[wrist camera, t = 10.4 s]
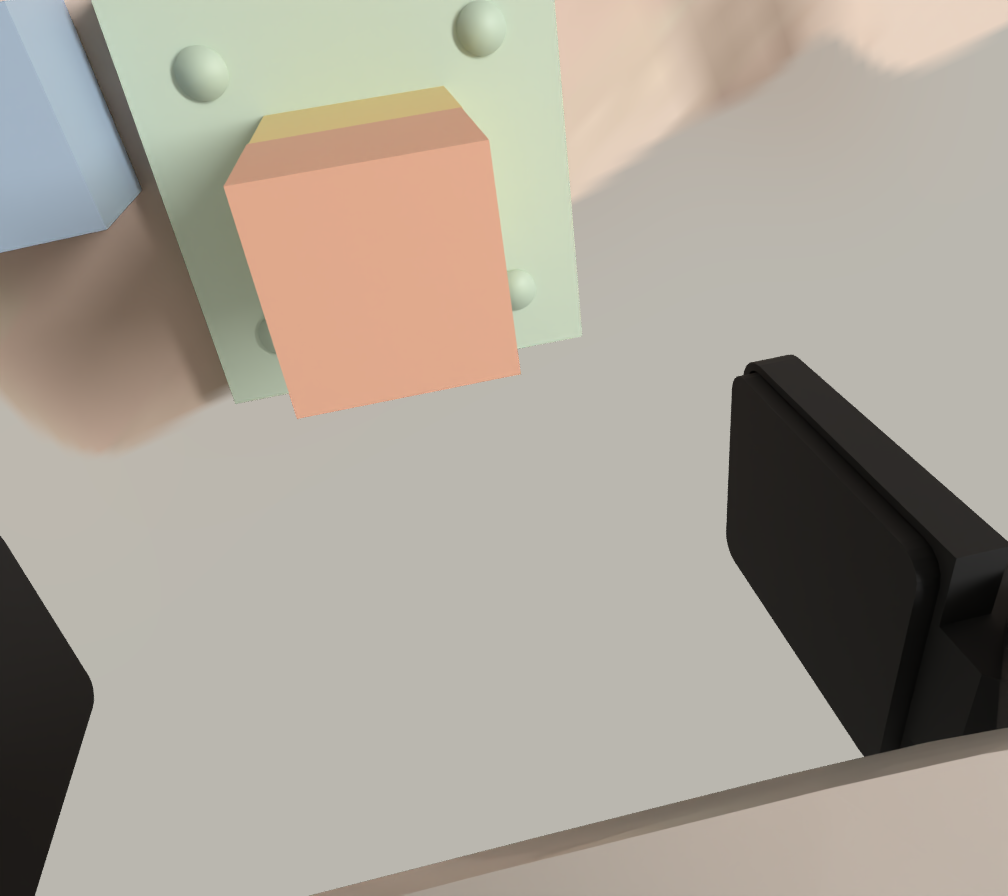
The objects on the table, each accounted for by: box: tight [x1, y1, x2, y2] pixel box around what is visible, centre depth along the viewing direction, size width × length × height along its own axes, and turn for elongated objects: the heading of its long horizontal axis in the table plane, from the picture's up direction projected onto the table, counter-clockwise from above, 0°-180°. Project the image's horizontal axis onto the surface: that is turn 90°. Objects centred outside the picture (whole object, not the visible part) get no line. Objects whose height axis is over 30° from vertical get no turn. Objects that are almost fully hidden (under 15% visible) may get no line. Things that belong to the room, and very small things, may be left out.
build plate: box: [91, 0, 582, 404], centre depth 28 cm, size 14×14×1 cm
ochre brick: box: [249, 86, 463, 144], centre depth 26 cm, size 6×6×5 cm
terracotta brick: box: [223, 107, 521, 419], centre depth 21 cm, size 6×6×5 cm
